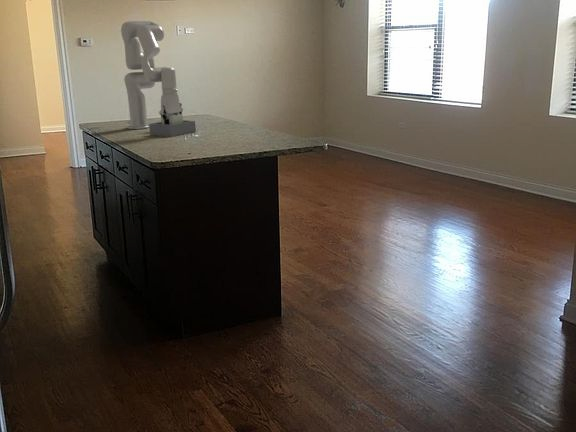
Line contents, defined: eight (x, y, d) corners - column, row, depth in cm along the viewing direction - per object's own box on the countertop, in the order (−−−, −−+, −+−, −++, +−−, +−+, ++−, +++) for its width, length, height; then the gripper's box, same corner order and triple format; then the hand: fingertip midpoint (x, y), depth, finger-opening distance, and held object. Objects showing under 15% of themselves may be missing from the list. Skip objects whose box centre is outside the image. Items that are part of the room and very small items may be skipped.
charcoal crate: (150, 135, 337) (149, 123, 335) (175, 130, 351) (174, 119, 349) (171, 136, 327) (170, 125, 326) (195, 132, 341) (195, 120, 340)
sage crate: (162, 128, 338) (160, 115, 336) (171, 126, 344) (170, 113, 342) (173, 129, 333) (172, 115, 331) (183, 127, 338) (182, 114, 336)
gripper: (176, 90, 342) (179, 123, 347) (152, 93, 329) (155, 127, 333) (186, 90, 338) (189, 124, 342) (162, 93, 324) (165, 128, 329)
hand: (172, 125), depth 338 cm, fingers closed on sage crate, 7 cm apart
